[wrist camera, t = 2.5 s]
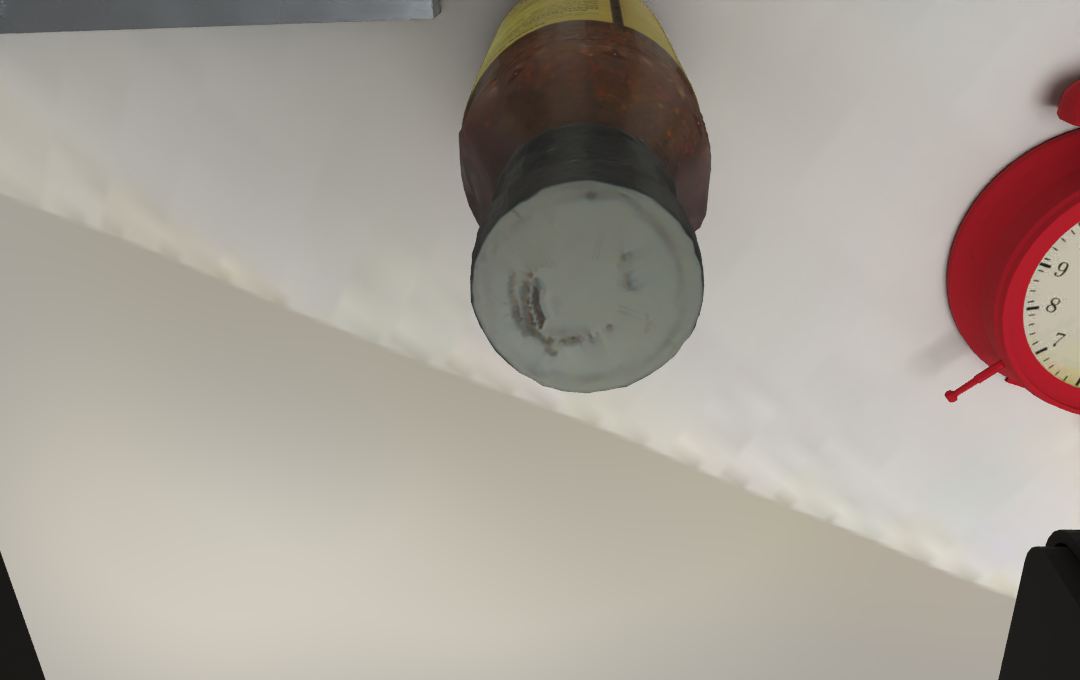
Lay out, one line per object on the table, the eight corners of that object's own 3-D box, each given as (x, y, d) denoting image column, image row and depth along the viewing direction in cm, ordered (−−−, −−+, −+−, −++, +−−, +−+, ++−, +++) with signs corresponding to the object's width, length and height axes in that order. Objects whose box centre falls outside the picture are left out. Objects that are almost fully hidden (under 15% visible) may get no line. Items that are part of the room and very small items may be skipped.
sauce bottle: (471, 117, 35) (326, 379, 17) (527, -57, 32) (422, 41, 15) (639, 179, 36) (665, 493, 18) (708, 12, 33) (819, 188, 15)
